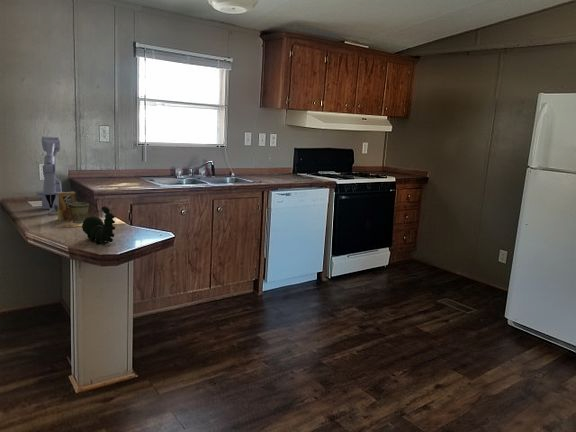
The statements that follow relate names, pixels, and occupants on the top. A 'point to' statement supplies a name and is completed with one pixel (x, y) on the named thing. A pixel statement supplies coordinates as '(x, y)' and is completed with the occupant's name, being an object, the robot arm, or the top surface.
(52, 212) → the fader board
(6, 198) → the top surface
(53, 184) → the robot arm
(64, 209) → the candy box
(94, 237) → the toy figurine
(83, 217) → the ceramic cup
